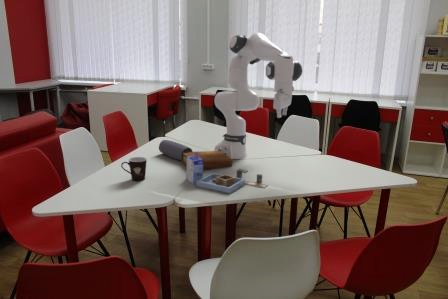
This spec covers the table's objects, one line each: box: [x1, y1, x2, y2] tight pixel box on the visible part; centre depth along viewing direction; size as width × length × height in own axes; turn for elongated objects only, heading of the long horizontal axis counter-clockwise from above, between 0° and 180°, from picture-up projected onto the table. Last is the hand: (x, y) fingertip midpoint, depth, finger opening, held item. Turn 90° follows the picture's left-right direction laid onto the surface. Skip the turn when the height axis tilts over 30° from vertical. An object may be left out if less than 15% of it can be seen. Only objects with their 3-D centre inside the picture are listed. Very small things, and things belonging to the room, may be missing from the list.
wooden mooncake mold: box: [213, 174, 237, 187], centre depth 182 cm, size 12×7×4 cm, turn 42°
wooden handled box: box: [236, 168, 269, 189], centre depth 187 cm, size 18×9×5 cm, turn 59°
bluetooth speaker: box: [158, 139, 194, 162], centre depth 223 cm, size 23×9×10 cm, turn 43°
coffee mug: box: [120, 156, 148, 182], centre depth 189 cm, size 12×9×10 cm
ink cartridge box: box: [186, 151, 204, 186], centre depth 186 cm, size 10×6×14 cm, turn 26°
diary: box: [180, 150, 233, 171], centre depth 211 cm, size 23×19×6 cm
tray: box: [195, 172, 246, 195], centre depth 181 cm, size 18×15×3 cm
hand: (281, 116), depth 191 cm, fingers open, 8 cm apart
